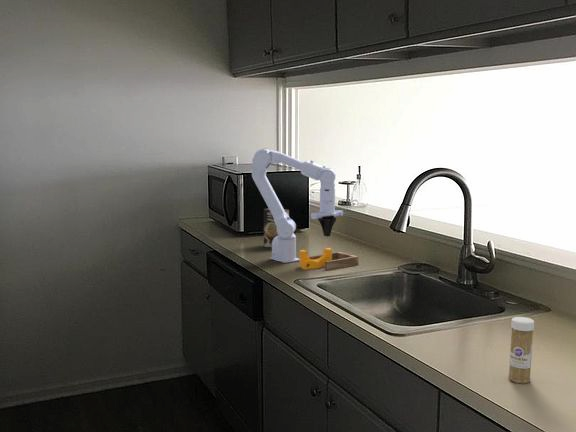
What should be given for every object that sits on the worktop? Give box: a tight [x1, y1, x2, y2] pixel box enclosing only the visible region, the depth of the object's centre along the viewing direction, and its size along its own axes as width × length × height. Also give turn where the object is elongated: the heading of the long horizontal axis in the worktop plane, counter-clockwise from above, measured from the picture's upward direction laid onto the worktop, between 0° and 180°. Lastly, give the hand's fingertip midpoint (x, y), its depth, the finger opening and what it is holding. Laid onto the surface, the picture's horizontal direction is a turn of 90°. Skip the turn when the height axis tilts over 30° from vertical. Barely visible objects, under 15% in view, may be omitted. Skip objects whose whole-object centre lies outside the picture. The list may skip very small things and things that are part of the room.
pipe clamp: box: [299, 247, 333, 270], centre depth 250 cm, size 12×4×6 cm, turn 112°
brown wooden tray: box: [308, 251, 359, 271], centre depth 253 cm, size 11×16×3 cm
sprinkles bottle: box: [508, 316, 535, 384], centre depth 143 cm, size 5×5×13 cm
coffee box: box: [263, 207, 290, 248], centre depth 286 cm, size 9×6×16 cm
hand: (326, 236), depth 257 cm, fingers closed
